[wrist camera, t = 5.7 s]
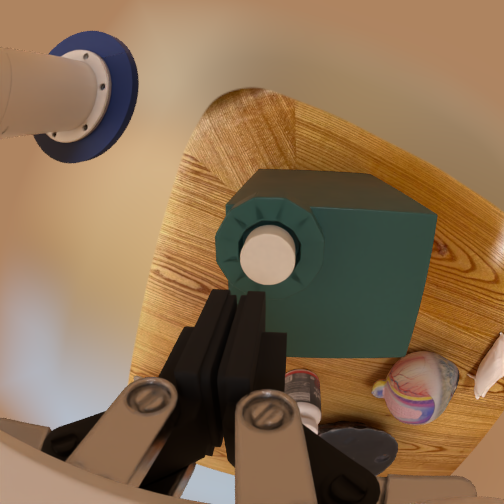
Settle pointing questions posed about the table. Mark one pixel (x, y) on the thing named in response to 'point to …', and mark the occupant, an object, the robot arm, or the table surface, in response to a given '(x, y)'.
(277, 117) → the table surface
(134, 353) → the table surface
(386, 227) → the teal box with knob
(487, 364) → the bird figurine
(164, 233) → the table surface
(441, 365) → the anatomical model
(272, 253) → the round beige push button
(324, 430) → the board
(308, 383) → the pill bottle
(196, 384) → the robot arm
